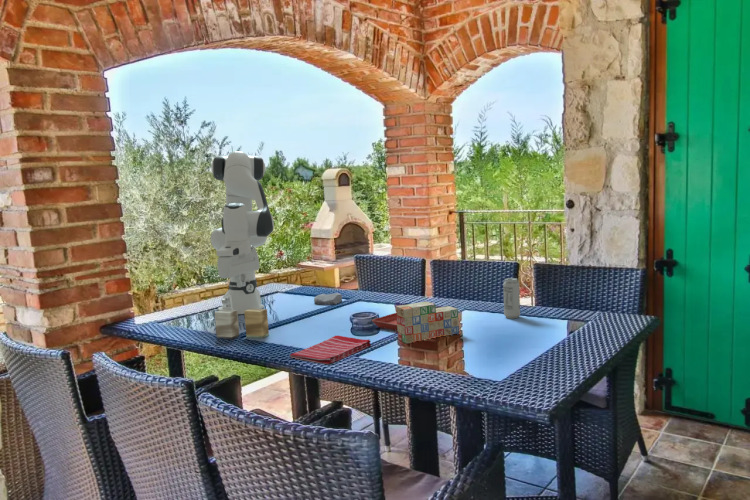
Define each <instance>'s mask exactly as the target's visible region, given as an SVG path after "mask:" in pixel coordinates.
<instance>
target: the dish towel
mask: <svg viewBox="0 0 750 500" xmlns="http://www.w3.org/2000/svg"><path fill="white" fill-rule="evenodd" d="M371 346H372V344H371V339H370V338H369V339H361V338H356V337H349V336H348V337H347V336H342V335H334V336H331V337H330V338H328V339H325V340H324V341H322V342H319V343H316V344H314V345H311V346H308V347H307V348H305V349H302V350H300V351H296V352H293V353H290V354H289V357H290V359H293V358H295V359H294V360H299V359H300V360H301V361H305V362H312V363H318V364H324V365H330V364H333V363H336V362H338V361H340V360H343V359H345V358H347V357H350V356H351V355H354V354H357V353H359V352H360V351H362V350H364V349H367V348H369V347H371ZM335 361H336V362H335Z"/></svg>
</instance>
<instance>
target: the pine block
mask: <svg viewBox="0 0 750 500" xmlns="http://www.w3.org/2000/svg"><path fill="white" fill-rule="evenodd" d="M238 315H239V314H238V313H237V310H220V311H219V310H217V311H215V312H214V321H215V330H216V331H215V332H216V339H219V338H224V339H225V340H234V339H237V338H239V337H240V327H239V316H238ZM238 336H239V337H238ZM224 339H223V340H224Z"/></svg>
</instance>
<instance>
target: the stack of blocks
mask: <svg viewBox="0 0 750 500" xmlns="http://www.w3.org/2000/svg"><path fill="white" fill-rule="evenodd" d="M395 306H396V313H397V315H396V316H397V329H398V331H397V340H398V341H400V342H401V343H404V344H411V343H412V342H413V343H416V342H415V341H419V342H421V341H420V340H424V339H429V338H431V337H434V336H440V335H451V336H454V335H453V334H457V335H460V323H459V322H460V321H459V309H458V308H456V307H453V306H449V305H447V306H443V307H437V306H436V303H433V302H429V301H421V302H414V303H409V304H402V305H401V304H400V305H395ZM429 340H430V339H429ZM424 341H425V340H424Z"/></svg>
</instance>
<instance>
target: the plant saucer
mask: <svg viewBox="0 0 750 500" xmlns="http://www.w3.org/2000/svg"><path fill="white" fill-rule="evenodd" d="M396 315H397V312H394V313H391V314H387V315H385V316H384V315H383V316H380V317H377V318H374V319H371V321H372V323H374V325H375V326H376V327H378V328H380V329H387V330H391V331H397V332H398V329H397V316H396Z"/></svg>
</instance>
